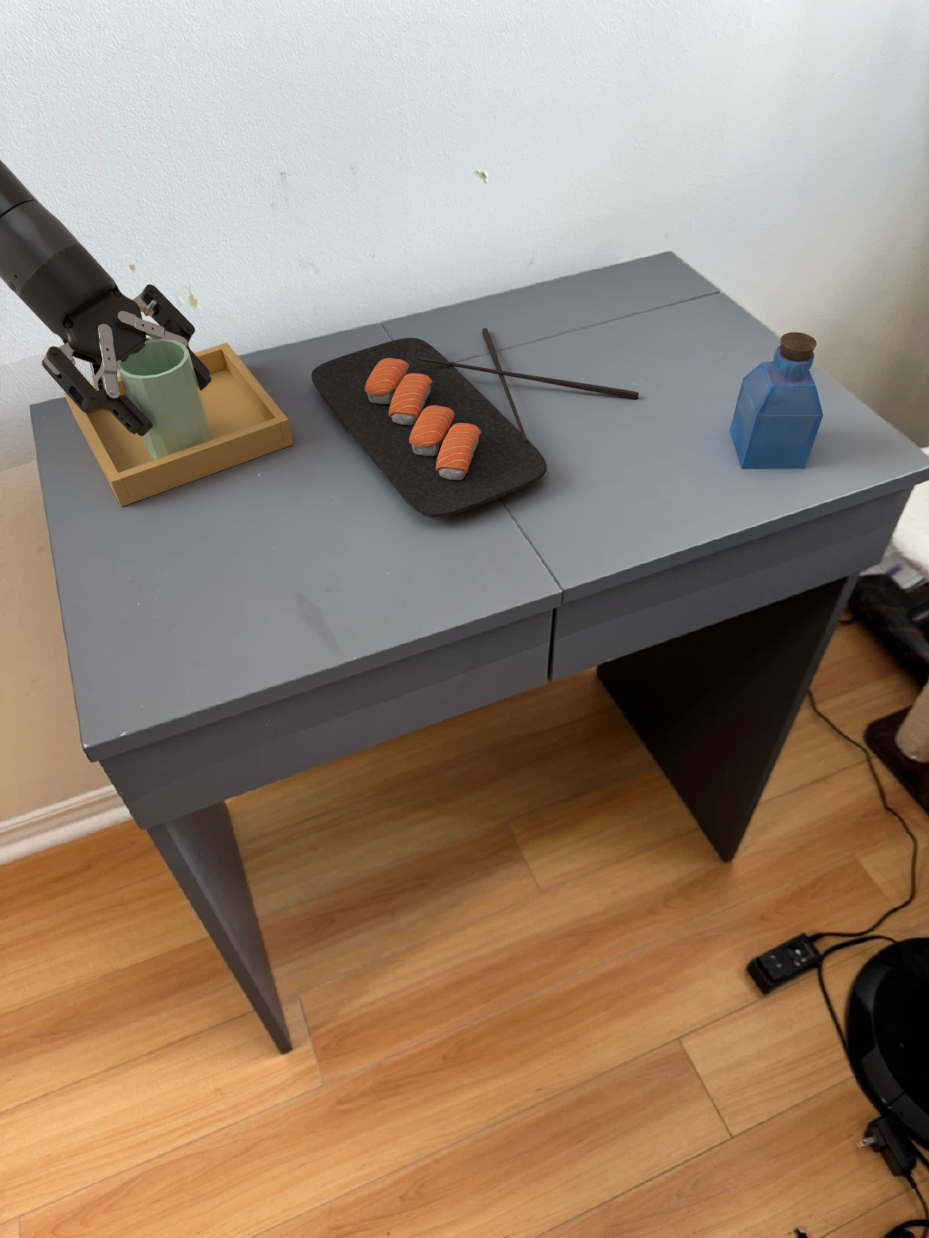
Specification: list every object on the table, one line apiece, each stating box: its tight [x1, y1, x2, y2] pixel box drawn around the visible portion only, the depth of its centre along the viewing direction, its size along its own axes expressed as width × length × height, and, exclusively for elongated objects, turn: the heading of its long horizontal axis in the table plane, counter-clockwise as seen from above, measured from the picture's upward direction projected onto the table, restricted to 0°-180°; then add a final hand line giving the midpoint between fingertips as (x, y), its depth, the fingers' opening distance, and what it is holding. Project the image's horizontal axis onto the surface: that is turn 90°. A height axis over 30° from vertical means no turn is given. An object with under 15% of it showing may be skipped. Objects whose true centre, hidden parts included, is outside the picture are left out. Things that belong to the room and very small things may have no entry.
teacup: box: [116, 339, 213, 460], centre depth 85 cm, size 7×7×10 cm
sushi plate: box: [310, 327, 640, 518], centre depth 92 cm, size 29×30×4 cm
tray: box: [64, 342, 294, 508], centre depth 90 cm, size 18×17×3 cm
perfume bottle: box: [729, 331, 824, 469], centre depth 83 cm, size 6×6×12 cm
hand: (178, 408), depth 85 cm, fingers open, 8 cm apart
